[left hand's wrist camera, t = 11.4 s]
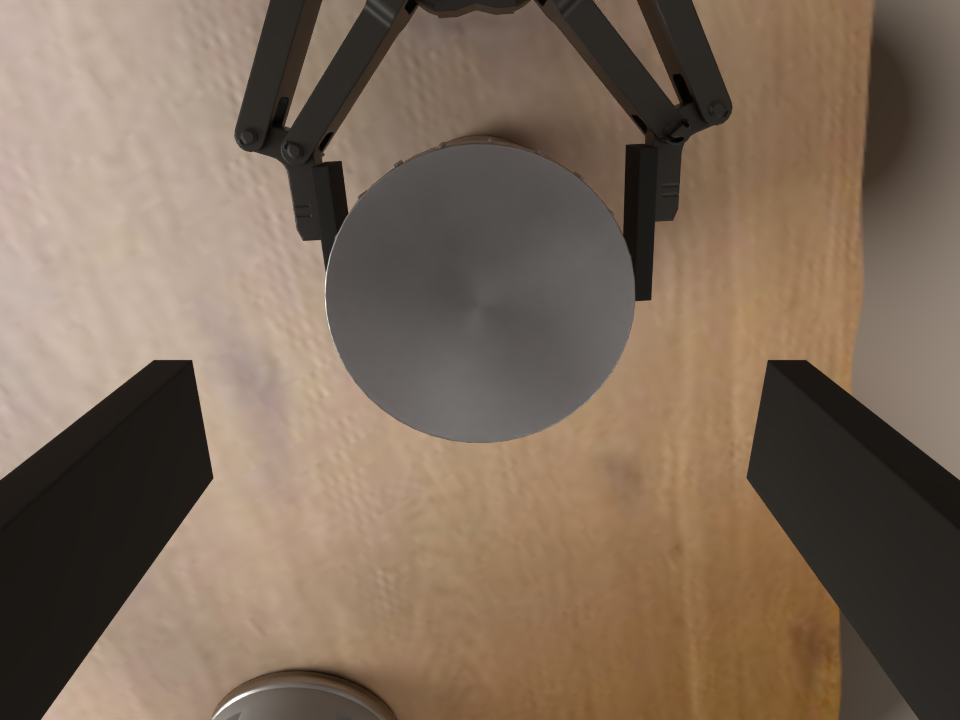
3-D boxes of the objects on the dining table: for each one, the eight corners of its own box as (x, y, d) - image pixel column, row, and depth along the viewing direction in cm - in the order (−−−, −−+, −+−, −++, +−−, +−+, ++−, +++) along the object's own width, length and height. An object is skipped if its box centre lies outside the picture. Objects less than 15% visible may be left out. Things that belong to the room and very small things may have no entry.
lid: (580, 442, 24) (588, 469, 23) (318, 391, 24) (304, 415, 22) (663, 177, 21) (680, 184, 19) (356, 106, 20) (344, 106, 18)
